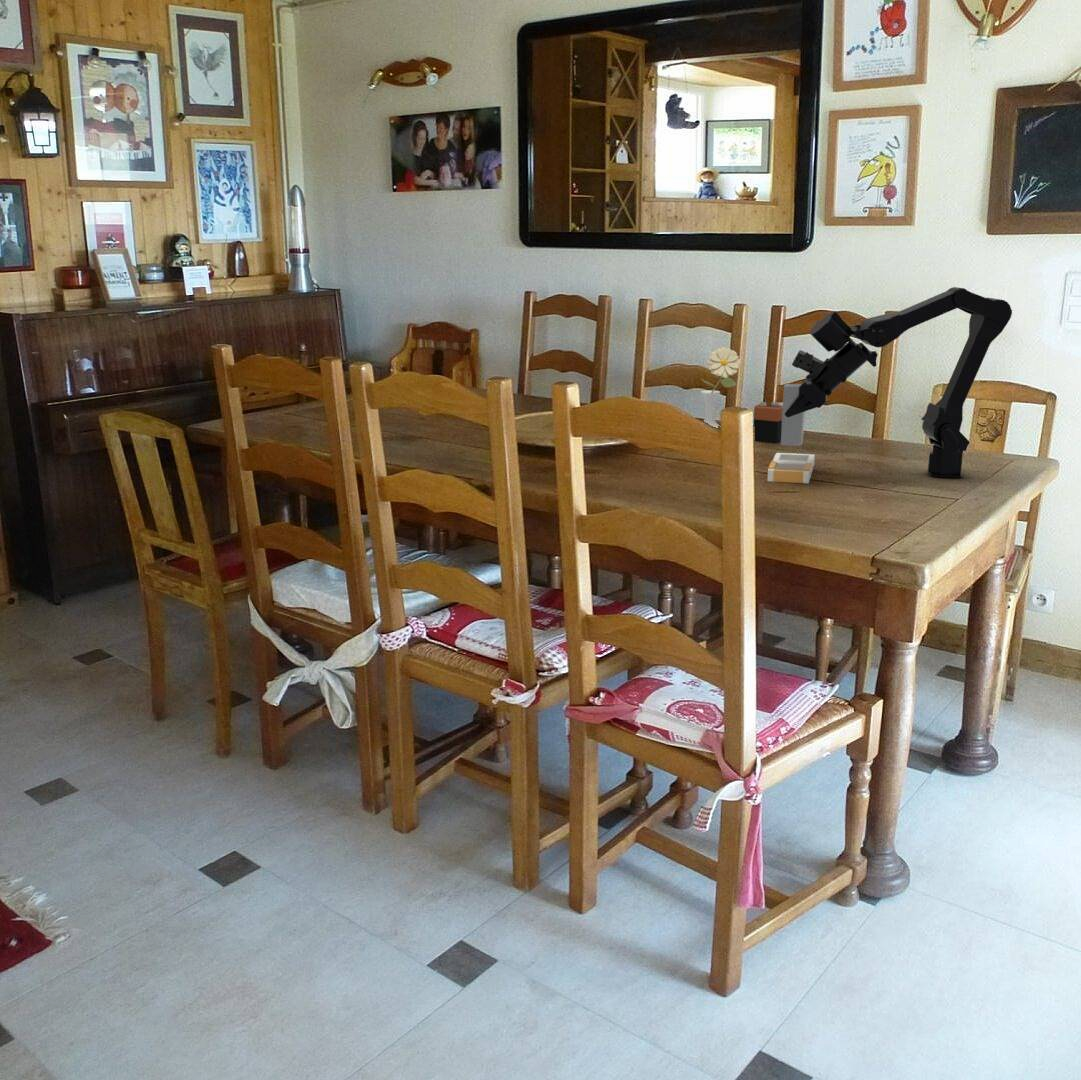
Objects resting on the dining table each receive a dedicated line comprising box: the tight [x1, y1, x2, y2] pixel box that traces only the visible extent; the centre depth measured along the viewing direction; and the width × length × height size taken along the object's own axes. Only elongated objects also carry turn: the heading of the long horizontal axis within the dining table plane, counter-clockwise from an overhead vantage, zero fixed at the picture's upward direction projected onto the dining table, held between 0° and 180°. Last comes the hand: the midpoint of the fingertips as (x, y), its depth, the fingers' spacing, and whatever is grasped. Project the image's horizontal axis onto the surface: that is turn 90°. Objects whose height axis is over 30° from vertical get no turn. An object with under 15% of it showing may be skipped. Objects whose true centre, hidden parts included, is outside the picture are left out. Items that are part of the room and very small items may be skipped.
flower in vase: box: [700, 346, 741, 428], centre depth 269 cm, size 13×11×25 cm
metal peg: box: [780, 383, 806, 447], centre depth 237 cm, size 4×4×13 cm
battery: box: [753, 401, 783, 444], centre depth 277 cm, size 4×7×10 cm, turn 53°
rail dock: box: [766, 452, 816, 484], centre depth 242 cm, size 9×19×3 cm, turn 163°
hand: (787, 414), depth 238 cm, fingers closed on metal peg, 4 cm apart
